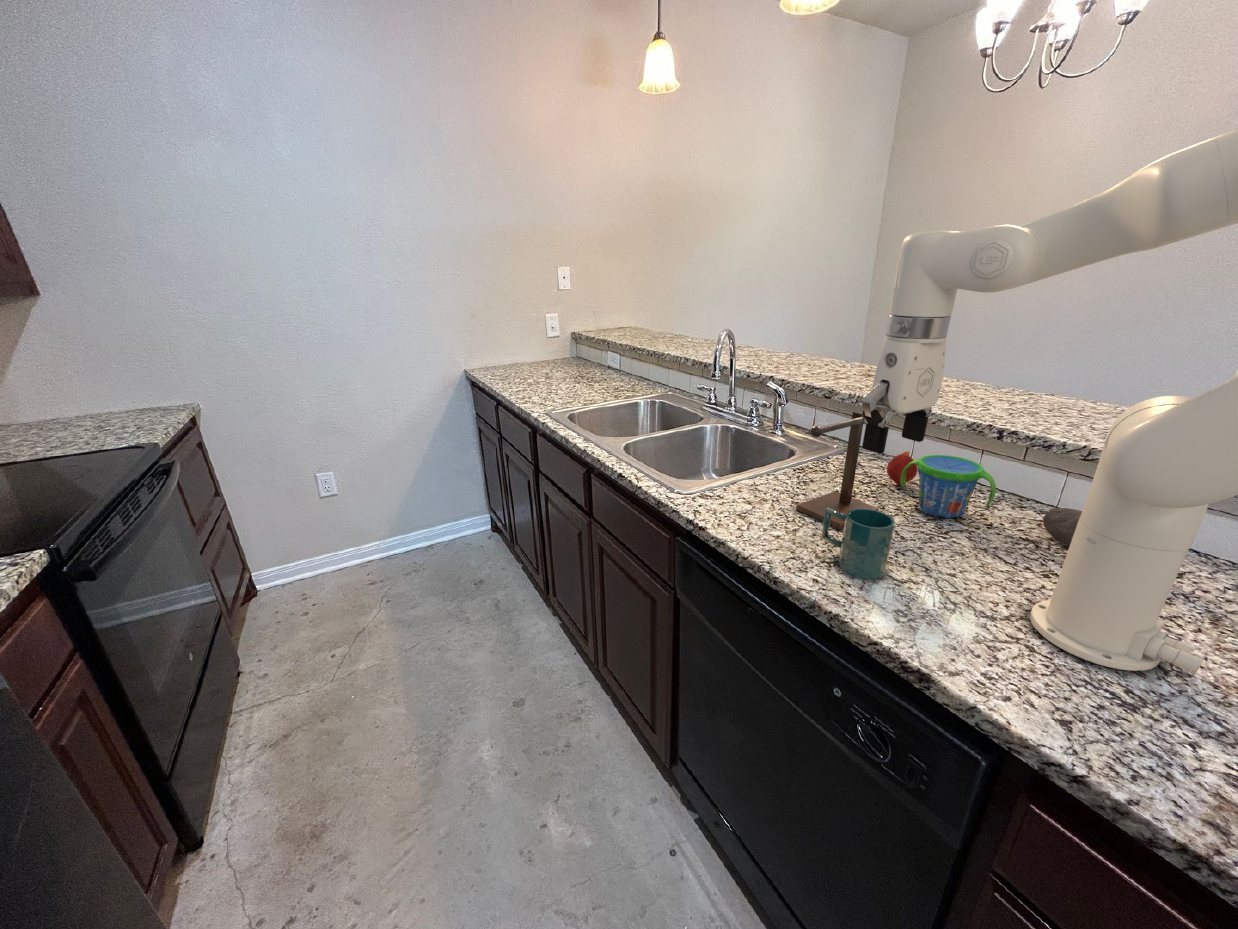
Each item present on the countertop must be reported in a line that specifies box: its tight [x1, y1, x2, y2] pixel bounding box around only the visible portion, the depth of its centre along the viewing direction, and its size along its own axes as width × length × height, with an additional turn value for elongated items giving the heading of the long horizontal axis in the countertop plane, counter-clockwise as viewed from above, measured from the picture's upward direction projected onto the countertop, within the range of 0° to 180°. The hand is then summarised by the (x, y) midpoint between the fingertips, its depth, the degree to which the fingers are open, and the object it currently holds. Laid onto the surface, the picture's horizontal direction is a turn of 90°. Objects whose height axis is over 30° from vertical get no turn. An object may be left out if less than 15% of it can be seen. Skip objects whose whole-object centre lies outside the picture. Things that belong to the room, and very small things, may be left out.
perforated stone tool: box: [1042, 507, 1083, 548], centre depth 83 cm, size 15×5×7 cm, turn 7°
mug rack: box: [796, 410, 880, 530], centre depth 95 cm, size 10×18×20 cm, turn 121°
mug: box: [820, 508, 896, 580], centre depth 81 cm, size 11×7×9 cm, turn 31°
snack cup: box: [900, 454, 997, 519], centre depth 97 cm, size 16×10×10 cm
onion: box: [886, 450, 918, 486], centre depth 110 cm, size 6×6×8 cm
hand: (892, 444), depth 75 cm, fingers open, 9 cm apart
